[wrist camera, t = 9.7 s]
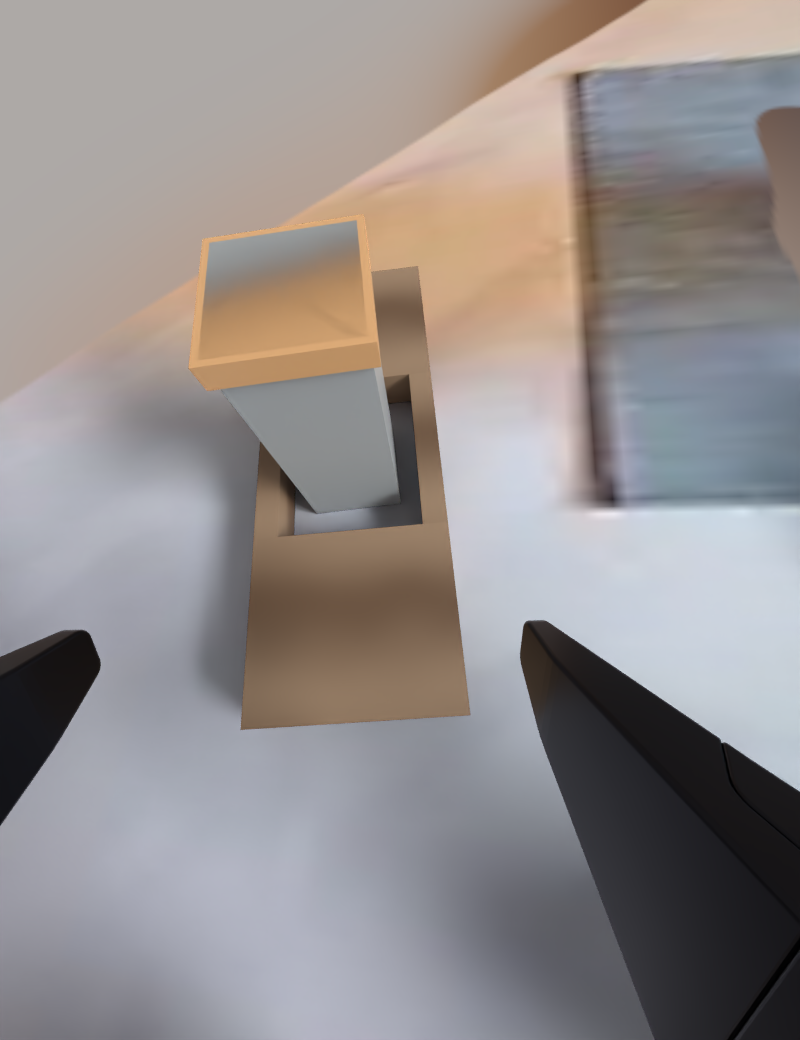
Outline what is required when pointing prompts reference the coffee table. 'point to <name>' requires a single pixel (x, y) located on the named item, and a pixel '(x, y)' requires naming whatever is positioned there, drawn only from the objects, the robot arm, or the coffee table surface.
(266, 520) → the wooden socket base
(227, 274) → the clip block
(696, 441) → the coffee table surface
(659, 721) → the robot arm
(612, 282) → the coffee table surface
